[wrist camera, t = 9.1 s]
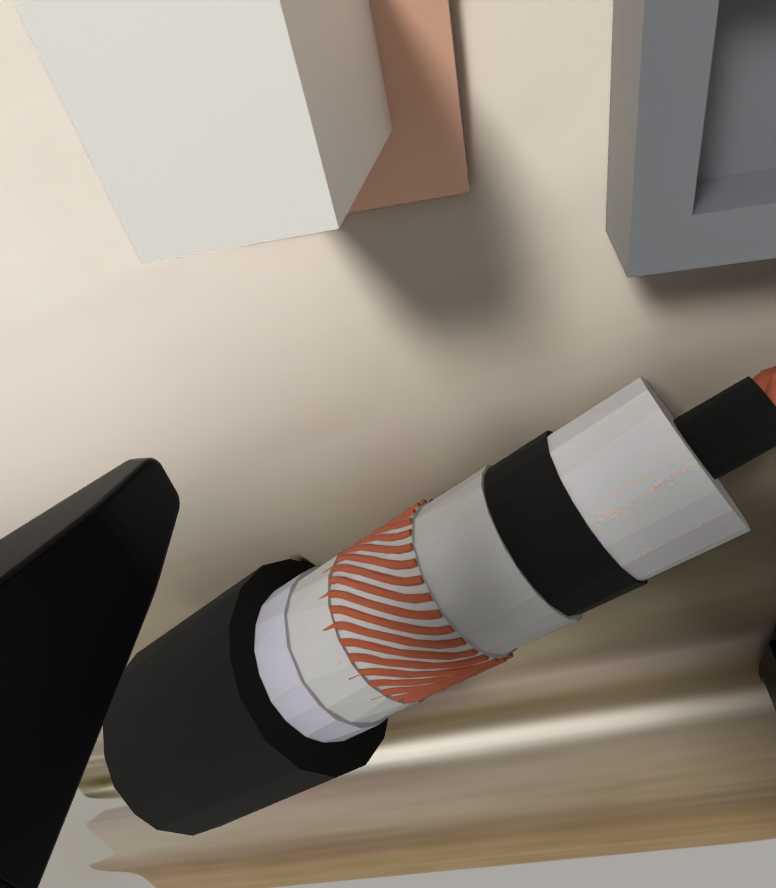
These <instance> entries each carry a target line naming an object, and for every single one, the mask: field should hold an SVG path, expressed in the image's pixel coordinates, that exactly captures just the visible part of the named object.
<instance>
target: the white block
mask: <svg viewBox="0 0 776 888" xmlns="http://www.w3.org/2000/svg"><path fill="white" fill-rule="evenodd" d="M14 7H15V9H16V11H17V13H18V15H19V17H20V19H21V21H22V23H23V26H24V28H25V30H26V32H27V34H28V36H29V38H30V40H31V42H32V44H33V46H34V48H35V50H36V52H37V54H38V56H39V58H40V60H41V62H42V64H43V66H44V68H45V70H46V72H47V74H48V76H49V78H50V80H51V83H52V85H53V87H54V89H55V91H56V93H57V95H58V97H59V99H60V101H61V103H62V105H63V107H64V109H65V111H66V113H67V115H68V117H69V119H70V121H71V123H72V125H73V127H74V129H75V131H76V133H77V135H78V137H79V140H80V142H81V144H82V146H83V148H84V150H85V152H86V154H87V156H88V158H89V160H90V162H91V164H92V166H93V168H94V170H95V172H96V174H97V176H98V178H99V180H100V182H101V184H102V186H103V188H104V190H105V192H106V194H107V197H108V199H109V201H110V203H111V205H112V207H113V209H114V211H115V213H116V215H117V217H118V219H119V221H120V223H121V225H122V227H123V229H124V231H125V233H126V235H127V237H128V239H129V241H130V243H131V245H132V247H133V249H134V251H135V254H136V256H137V258H138V260H139V262H140V264H141V263H146V262H152V261H158V260H164V259H169V258H175V257H181V256H187V255H192V254H198V253H204V252H209V251H215V250H221V249H227V248H232V247H238V246H244V245H249V244H255V243H261V242H267V241H272V240H278V239H284V238H290V237H295V236H301V235H307V234H312V233H318V232H324V231H330V230H335V229H339V228H340V226H341V224H342V222H343V220H344V218H345V217H346V215H347V213H348V211H349V209H350V207H351V206H352V204H353V202H354V200H355V198H356V196H357V194H358V193H359V191H360V189H361V187H362V185H363V183H364V181H365V180H366V178H367V176H368V174H369V172H370V170H371V168H372V167H373V165H374V163H375V161H376V159H377V157H378V155H379V154H380V152H381V150H382V148H383V146H384V144H385V142H386V141H387V139H388V137H389V135H390V133H391V131H392V123H391V118H390V112H389V107H388V101H387V96H386V90H385V85H384V79H383V74H382V69H381V63H380V58H379V52H378V47H377V41H376V36H375V30H374V25H373V19H372V14H371V8H370V3H369V0H32V1H28V2H25V3H22V4H19V5H16V6H14Z"/></svg>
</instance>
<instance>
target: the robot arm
mask: <svg viewBox="0 0 776 888" xmlns="http://www.w3.org/2000/svg"><path fill="white" fill-rule="evenodd" d="M179 506H180V502H179V496H178V493H177V491H176V490H175V488H174V486H173V484H172V483H171V481H170V479H169V477H168V476H167V474H166V472H165V470H164V469H163V467H162V465H161V464H160V462H158V461H157V460H156V459H154V458H138V459H130V460H128V461H126V462H124V463H123V464H121V465H119V466H118V467H116V468H115V469H113V470H111V471H110V472H108V473H106V474H105V475H103V476H102V477H100V478H98V479H97V480H95V481H94V482H92V483H90V484H89V485H87V486H86V487H84V488H82V489H81V490H79V491H77V492H76V493H74V494H73V495H71V496H69V497H68V498H66V499H65V500H63V501H61V502H60V503H58V504H57V505H55V506H53V507H52V508H50V509H49V510H47V511H45V512H44V513H42V514H40V515H39V516H37V517H36V518H34V519H32V520H31V521H29V522H28V523H26V524H24V525H23V526H21V527H20V528H18V529H16V530H15V531H13V532H11V533H10V534H8V535H7V536H5V537H3V538H2V539H0V888H38V886H39V884H40V881H41V878H42V876H43V874H44V871H45V869H46V866H47V864H48V861H49V859H50V856H51V854H52V851H53V849H54V846H55V844H56V841H57V839H58V836H59V834H60V831H61V828H62V826H63V824H64V821H65V818H66V816H67V813H68V811H69V808H70V806H71V803H72V801H73V798H74V796H75V793H76V791H77V788H78V786H79V783H80V781H81V778H82V776H83V773H84V771H85V768H86V766H87V763H88V761H89V758H90V756H91V753H92V751H93V748H94V746H95V743H96V741H97V738H98V735H99V733H100V730H101V728H102V725H103V723H104V720H105V718H106V715H107V713H108V710H109V708H110V705H111V703H112V700H113V698H114V695H115V693H116V690H117V688H118V685H119V683H120V680H121V678H122V675H123V673H124V670H125V668H126V665H127V663H128V660H129V658H130V655H131V653H132V650H133V647H134V645H135V642H136V640H137V637H138V635H139V632H140V630H141V627H142V625H143V622H144V620H145V617H146V615H147V612H148V610H149V607H150V605H151V602H152V599H153V597H154V594H155V591H156V588H157V585H158V582H159V578H160V575H161V571H162V568H163V564H164V561H165V557H166V554H167V550H168V547H169V543H170V540H171V536H172V533H173V529H174V526H175V522H176V519H177V515H178V512H179ZM759 676H760V679H761V681H762V682H763V683H765V685H766V687H767V690H768V692H769V695H770V698H771V700H772V703H773V705H774V708H775V710H776V628H775V631H774V633H773V636H772V638H771V640H770V641H769V643H768V644H767V647H766V649H765V652H764V655H763V657H762V660H761V663H760V665H759Z"/></svg>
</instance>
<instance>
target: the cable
mask: <svg viewBox="0 0 776 888" xmlns="http://www.w3.org/2000/svg"><path fill="white" fill-rule="evenodd" d="M774 447H776V366H775V367H772V368H769V369H766V370H763V371H761V372H760V373H759V374H758V375H756V376H755V377H754V378H753V379H752V378H750V377H746V378H745V379H743V380H741V381H740V382H738V383H736V384H734V385H733V386H731V387H729V388H727V389H726V390H724V391H722V392H721V393H719V394H717V395H715V396H714V397H712V398H710V399H708V400H707V401H705V402H703V403H702V404H700V405H698V406H696V407H695V408H693V409H691V410H690V411H688V412H686V413H684V414H683V415H681V416H679V417H677V418H676V419H675V418H674V417H673V416H672V414H671V413H670V412H669V410H668V409H667V408H666V406H665V405H664V404H663V402H662V401H661V400H660V399H659V397H658V396H657V395H656V393H655V392H654V391H653V389H652V388H651V387H650V386H649V385H648V383H647V382H646V381H645V380H644V379H643V378H642V377H640V378H638V379H637V380H635V381H634V382H632V383H630V384H629V385H627V386H626V387H624V388H623V389H621V390H619V391H618V392H616V393H615V394H613V395H611V396H610V397H608V398H607V399H605V400H604V401H602V402H600V403H599V404H597V405H596V406H594V407H592V408H591V409H589V410H588V411H586V412H585V413H583V414H581V415H580V416H578V417H577V418H575V419H573V420H572V421H570V422H569V423H567V424H566V425H564V426H562V427H561V428H559V429H558V430H556V431H554V432H551V431H546V432H545V433H543V434H542V435H540V436H538V437H537V438H535V439H534V440H532V441H531V442H529V443H527V444H526V445H524V446H523V447H521V448H520V449H518V450H517V451H515V452H513V453H512V454H510V455H509V456H507V457H506V458H504V459H503V460H501V461H499V462H498V463H496V464H495V465H487V466H485V467H484V468H482V469H481V470H479V471H478V472H476V473H474V474H473V475H471V476H470V477H468V478H467V479H465V480H464V481H462V482H461V483H459V484H457V485H456V486H454V487H453V488H451V489H450V490H448V491H447V492H445V493H443V494H442V495H440V496H439V497H437V498H436V499H434V500H433V499H431V500H430V501H429V502H427V501H426V500H422V501H421V502H420V503H416V504H415V505H413V506H412V507H410V508H409V509H407V510H406V511H404V512H403V513H402V514H401V515H400V516H398V517H396V518H394V519H392V520H390V521H389V522H388V523H387V524H386V525H385V526H384V527H381V528H379V529H377V530H375V531H374V532H373V533H372V534H371V535H370V536H368V537H366V538H364V539H362V540H360V541H359V542H358V543H356V544H355V545H354V546H352V547H350V548H348V549H346V550H344V551H343V552H341V553H340V554H338V555H336V556H335V557H334V558H332V559H331V560H329V561H328V562H326V563H325V564H324V565H322V566H315V565H311V564H307V563H303V562H300V561H296V560H292V559H288V560H283V561H279V562H275V563H271V564H267V565H263V566H261V567H260V568H258V569H257V570H256V571H254V572H253V573H251V574H250V575H248V576H247V577H245V578H244V579H243V580H241V581H240V582H238V583H237V584H235V585H234V586H233V587H231V588H230V589H228V590H227V591H225V592H224V593H223V594H221V595H220V596H218V597H217V598H215V599H214V600H213V601H211V602H210V603H208V604H207V605H205V606H204V607H203V608H201V609H200V610H198V611H197V612H195V613H194V614H193V615H191V616H190V617H188V618H187V619H185V620H184V621H183V622H181V623H180V624H178V625H177V626H175V627H174V628H173V629H171V630H170V631H168V632H167V633H165V634H164V635H162V636H161V637H160V638H158V639H157V640H155V641H154V642H152V643H151V644H150V645H148V646H147V647H145V648H144V649H142V650H141V651H140V652H138V653H137V654H136V655H135V656H134V658H133V659H132V660H131V661H130V663H129V664H128V665H127V667H126V668H125V670H124V673H123V675H122V678H121V680H120V683H119V685H118V688H117V690H116V693H115V695H114V698H113V700H112V703H111V705H110V708H109V710H108V713H107V715H106V718H105V720H104V723H103V738H104V756H105V760H106V763H107V766H108V769H109V773H110V776H111V779H112V782H113V785H114V788H115V789H116V790H117V791H118V793H119V794H120V795H121V797H122V798H123V799H124V801H125V802H126V803H127V805H128V806H129V807H130V809H131V810H132V811H133V813H134V814H135V815H137V816H138V817H140V818H141V819H142V820H144V821H145V822H147V823H148V824H149V825H151V826H152V827H154V828H155V829H157V830H162V831H168V832H174V833H180V834H186V835H192V836H193V835H196V834H199V833H202V832H205V831H208V830H211V829H214V828H217V827H220V826H222V825H224V824H227V823H229V822H231V821H234V820H236V819H239V818H241V817H243V816H246V815H248V814H250V813H253V812H255V811H258V810H260V809H262V808H265V807H267V806H269V805H272V804H274V803H277V802H279V801H281V800H284V799H286V798H288V797H291V796H293V795H296V794H298V793H300V792H303V791H305V790H307V789H310V788H312V787H315V786H317V785H319V784H322V783H324V782H326V781H329V780H331V779H334V778H336V777H338V776H341V775H343V774H345V773H348V772H350V771H352V770H355V769H357V768H360V767H362V766H364V765H366V764H367V762H368V761H369V759H370V758H371V756H372V755H373V753H374V752H375V751H376V749H377V748H378V746H379V745H380V743H381V742H382V740H383V739H384V736H385V731H386V726H387V721H388V717H389V716H391V714H393V713H395V712H397V711H399V710H402V709H404V708H406V707H408V706H410V705H413V704H415V703H417V702H418V703H420V702H422V701H423V700H425V699H427V698H426V697H428V696H430V695H432V694H435V693H437V692H439V691H441V690H443V689H445V688H447V687H449V686H451V685H454V684H456V683H459V682H462V681H464V680H466V679H468V678H469V677H472V676H475V675H477V674H479V673H481V672H483V671H485V670H487V669H489V668H492V667H494V666H496V665H499V664H501V663H503V662H506V661H507V659H509V658H511V657H513V653H512V652H513V651H514V650H516V649H517V648H518V647H520V646H522V645H525V644H527V643H529V642H531V641H533V640H535V639H538V638H540V637H542V636H544V635H546V634H548V633H551V632H553V631H555V630H557V629H559V628H561V627H563V626H566V625H568V624H572V623H575V622H578V621H579V620H581V619H582V618H583V617H582V613H584V612H586V611H588V610H590V609H592V608H595V607H597V606H599V605H601V604H603V603H606V602H608V601H610V600H612V599H614V598H616V597H619V596H621V595H623V594H625V593H627V592H629V591H632V590H634V589H636V588H638V587H640V586H643V585H645V584H647V580H648V578H651V577H653V576H655V575H657V574H659V573H661V572H663V571H665V570H668V569H670V568H672V567H674V566H676V565H678V564H680V563H683V562H685V561H687V560H689V559H691V558H693V557H695V556H697V555H700V554H702V553H704V552H706V551H708V550H710V549H712V548H715V547H717V546H719V545H721V544H723V543H725V542H727V541H730V540H732V539H734V538H736V537H738V536H740V535H742V534H744V533H747V532H749V531H751V530H750V527H749V525H748V524H747V522H746V520H745V519H744V517H743V515H742V514H741V512H740V511H739V509H738V508H737V506H736V505H735V503H734V502H733V500H732V499H731V497H730V496H729V494H728V493H727V491H726V490H725V488H724V487H723V485H722V484H721V483H720V481H719V480H718V478H719V477H721V476H723V475H724V474H726V473H728V472H730V471H732V470H734V469H735V468H737V467H739V466H741V465H743V464H745V463H746V462H748V461H750V460H752V459H754V458H755V457H757V456H759V455H761V454H763V453H765V452H766V451H768V450H770V449H772V448H774Z"/></svg>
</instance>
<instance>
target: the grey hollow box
mask: <svg viewBox="0 0 776 888" xmlns="http://www.w3.org/2000/svg"><path fill="white" fill-rule="evenodd" d="M606 232H607V235H608V237H609V239H610V241H611V243H612V245H613V247H614V249H615V252H616V254H617V256H618V258H619V260H620V262H621V264H622V267H623V269H624V271H625V273H626V275H627V277H628V278H629V277H636V276H644V275H652V274H659V273H667V272H674V271H682V270H689V269H697V268H705V267H712V266H720V265H727V264H735V263H742V262H750V261H757V260H765V259H773V258H776V0H614V1H613V30H612V60H611V89H610V119H609V148H608V178H607V207H606Z"/></svg>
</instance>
